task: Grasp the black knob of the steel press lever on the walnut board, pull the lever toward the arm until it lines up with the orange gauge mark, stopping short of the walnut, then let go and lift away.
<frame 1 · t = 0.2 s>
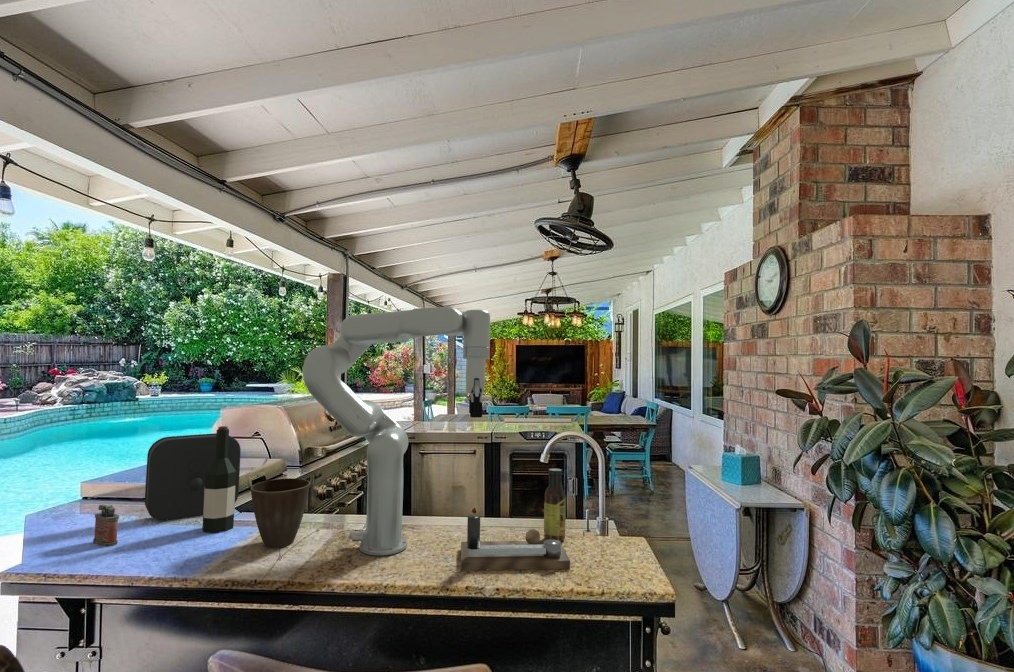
hand: (475, 415, 138), 36 cm above the table, tool pointing down, fingers open, 9 cm apart
speaker: (192, 515, 160), on the table
sauce bottle: (554, 539, 144), on the table
lever: (514, 535, 125), point 7 cm above the table, hinge at 0.0°
wine bottle: (217, 529, 147), on the table
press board: (513, 558, 129), on the table
lighter: (105, 543, 134), on the table
plant pot: (278, 544, 136), on the table
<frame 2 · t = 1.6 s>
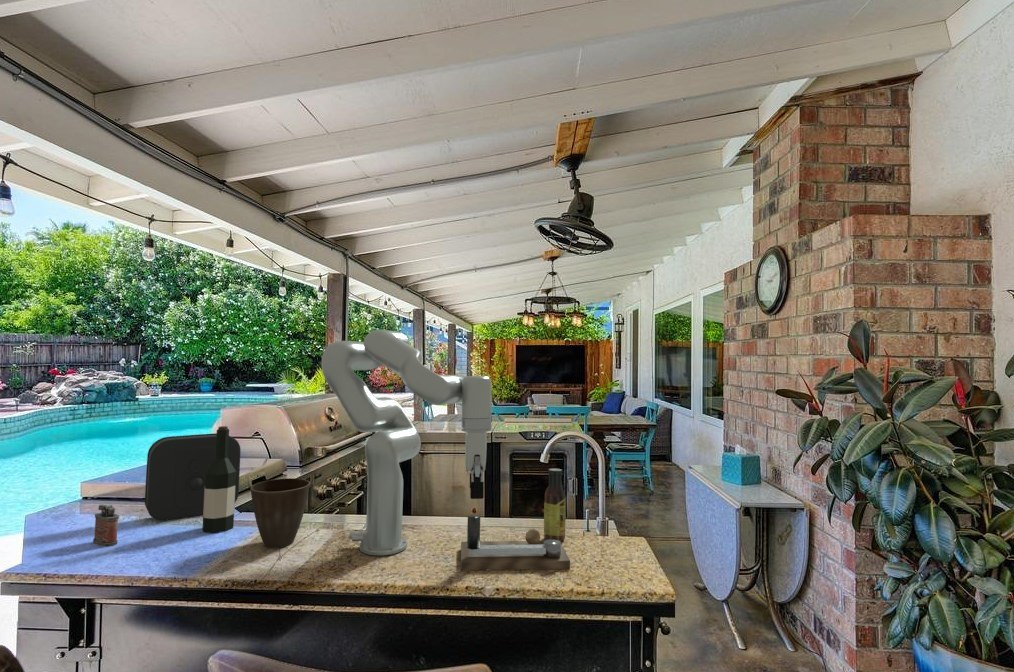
hand: (476, 493, 125), 18 cm above the table, tool pointing down, fingers open, 9 cm apart
nothing on the table moved.
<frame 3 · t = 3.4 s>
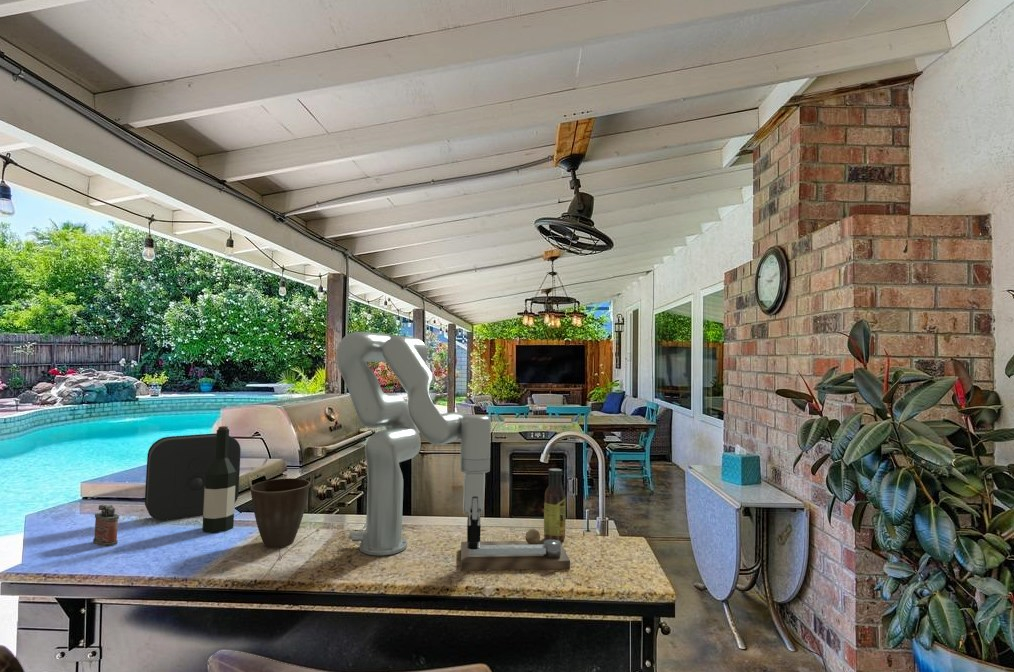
hand: (473, 538, 124), 7 cm above the table, tool pointing down, fingers closed on lever, 3 cm apart
lever: (514, 535, 125), point 7 cm above the table, hinge at 0.0°, touching gripper
everything else where it was.
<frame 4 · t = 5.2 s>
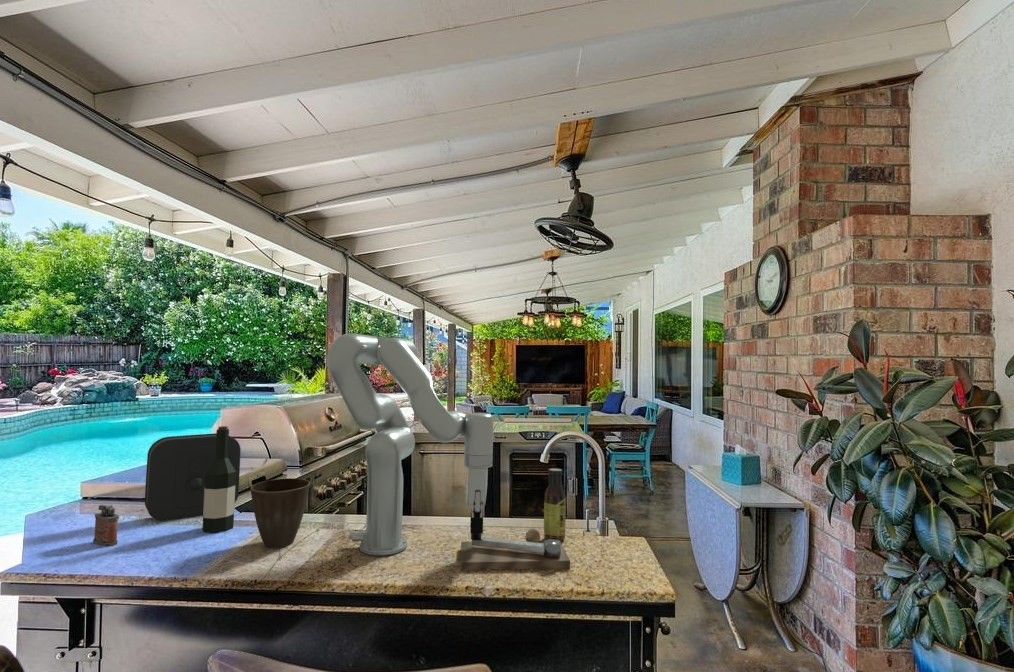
hand: (476, 529, 131), 7 cm above the table, tool pointing down, fingers closed on lever, 3 cm apart
lever: (515, 531, 129), point 7 cm above the table, hinge at 18.6°, touching gripper
everything else where it was.
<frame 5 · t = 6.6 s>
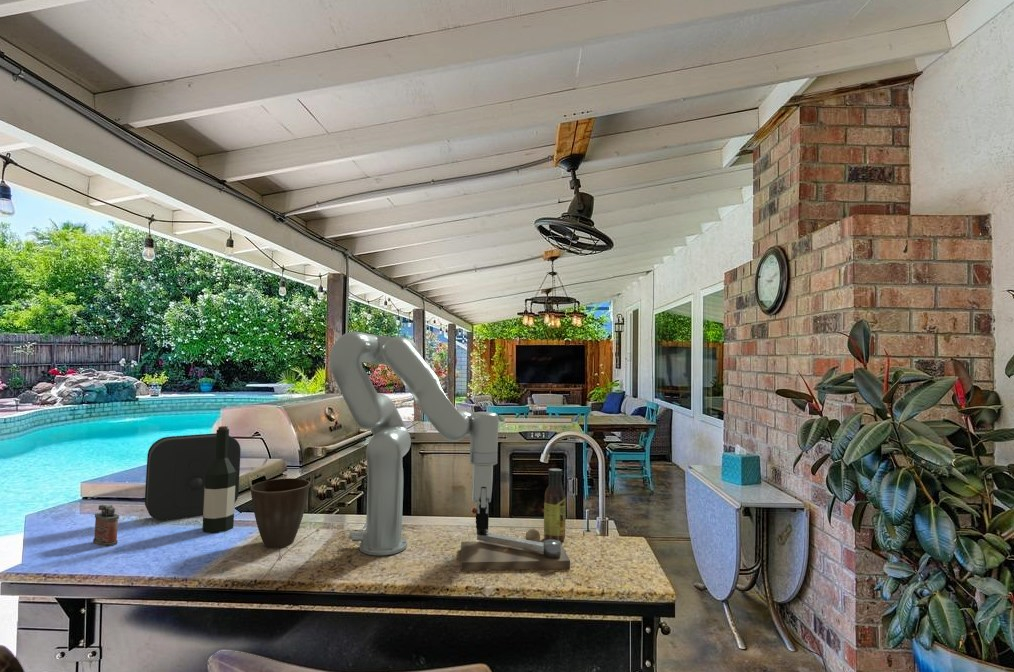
hand: (481, 525, 135), 7 cm above the table, tool pointing down, fingers closed on lever, 3 cm apart
lever: (517, 529, 130), point 7 cm above the table, hinge at 29.9°, touching gripper
everything else where it was.
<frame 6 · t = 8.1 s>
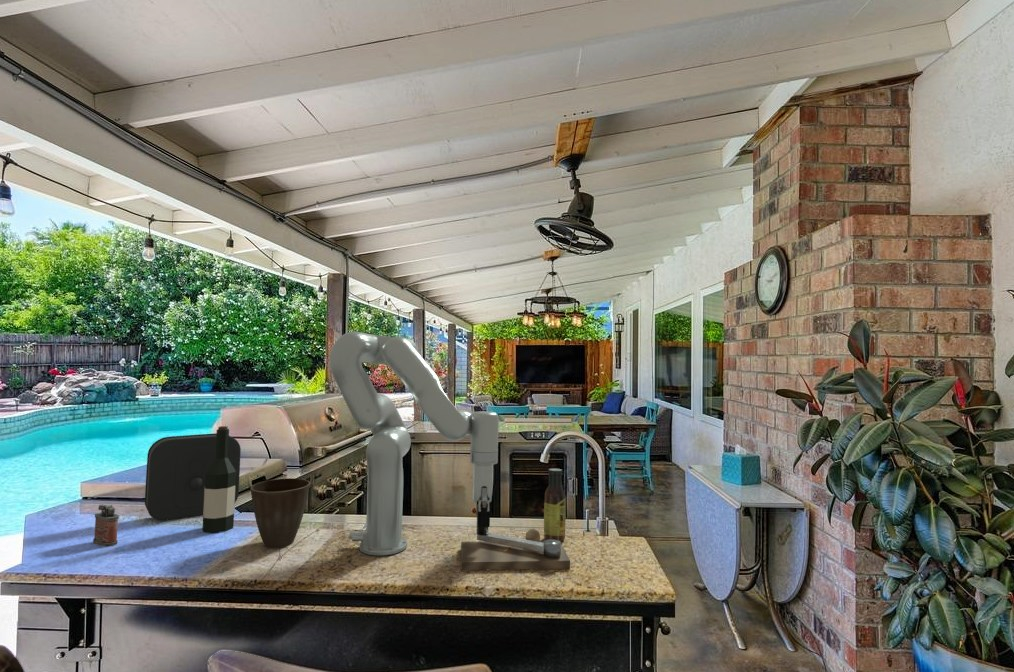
hand: (482, 520, 135), 8 cm above the table, tool pointing down, fingers open, 9 cm apart
lever: (517, 529, 130), point 7 cm above the table, hinge at 29.9°
everything else where it was.
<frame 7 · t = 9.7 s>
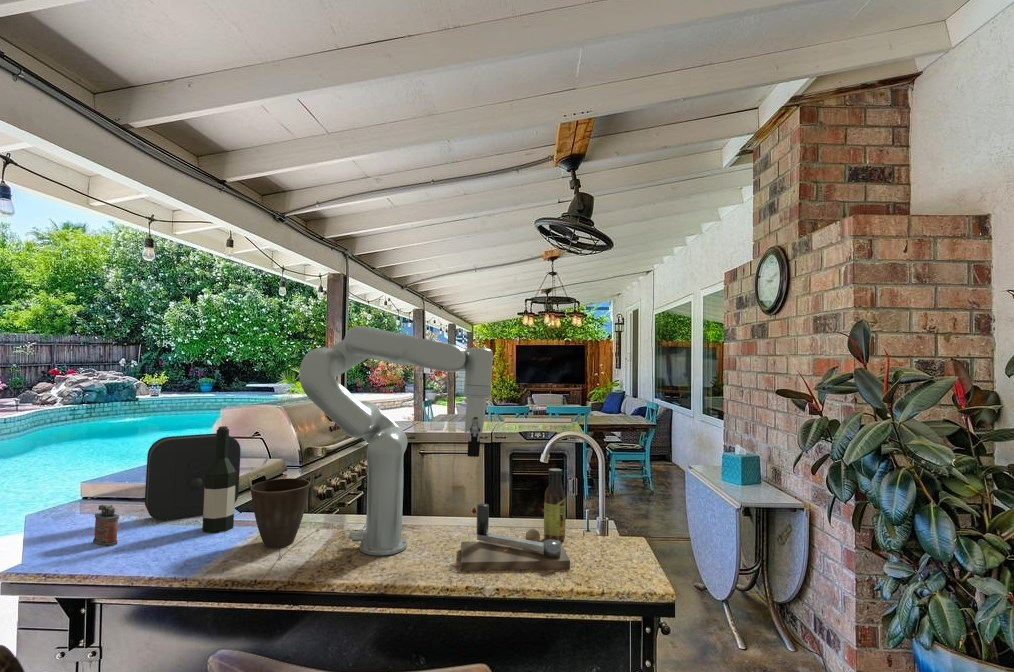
hand: (473, 453, 138), 25 cm above the table, tool pointing down, fingers open, 9 cm apart
nothing on the table moved.
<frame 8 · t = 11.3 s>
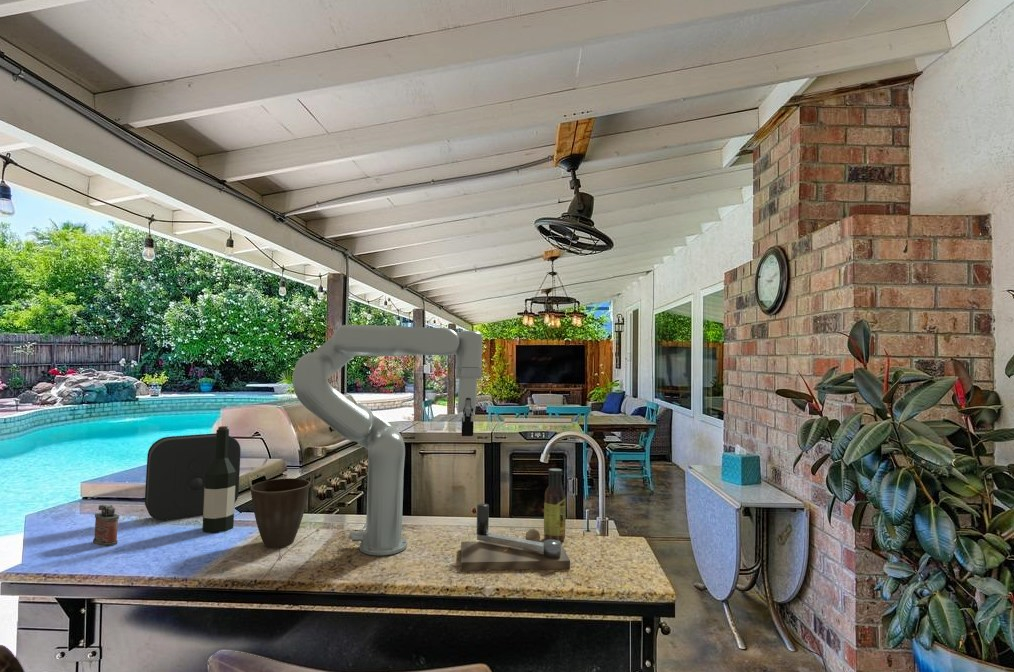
hand: (467, 433, 143), 30 cm above the table, tool pointing down, fingers open, 9 cm apart
nothing on the table moved.
at the end: lever at +30° (first picture: +0°); the gripper is holding nothing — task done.
